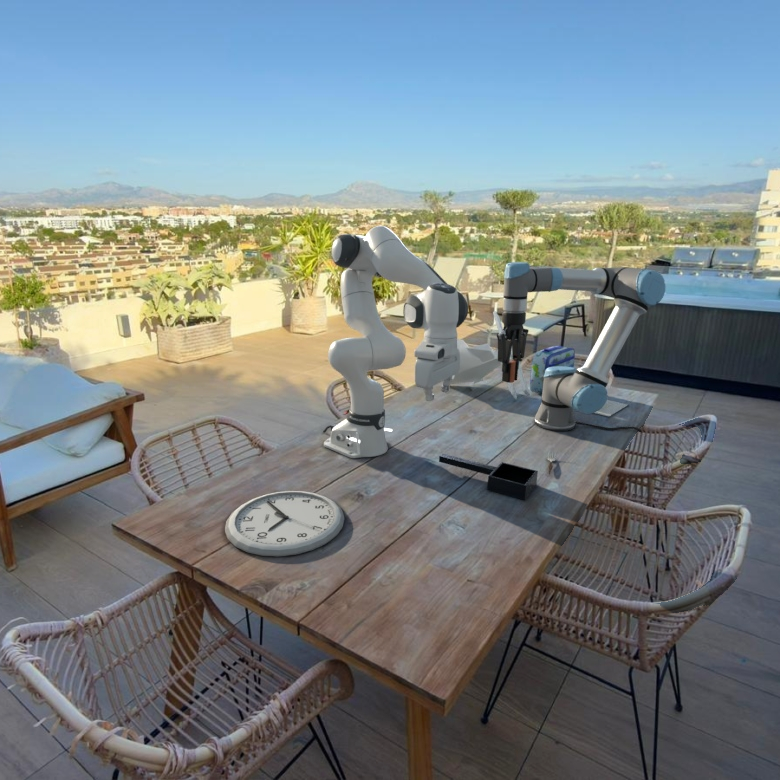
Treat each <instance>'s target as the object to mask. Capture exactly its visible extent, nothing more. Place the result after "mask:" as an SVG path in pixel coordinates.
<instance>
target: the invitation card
mask: <svg viewBox="0 0 780 780" xmlns="http://www.w3.org/2000/svg"><path fill="white" fill-rule="evenodd" d="M628 406H629V404H627V403H623V402H618V401H614V400H609V399H607V401H606V403H605V405H604V406H603V407H602V408H601V409H600V410H598V411H597V412H594V413H593V414H596V415H600V416H604V417H608V418H609V417H611V416H613V415H614V414H616V413H617V412H619V411H621V410H623V409H624V408H626V407H628Z"/></svg>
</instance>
